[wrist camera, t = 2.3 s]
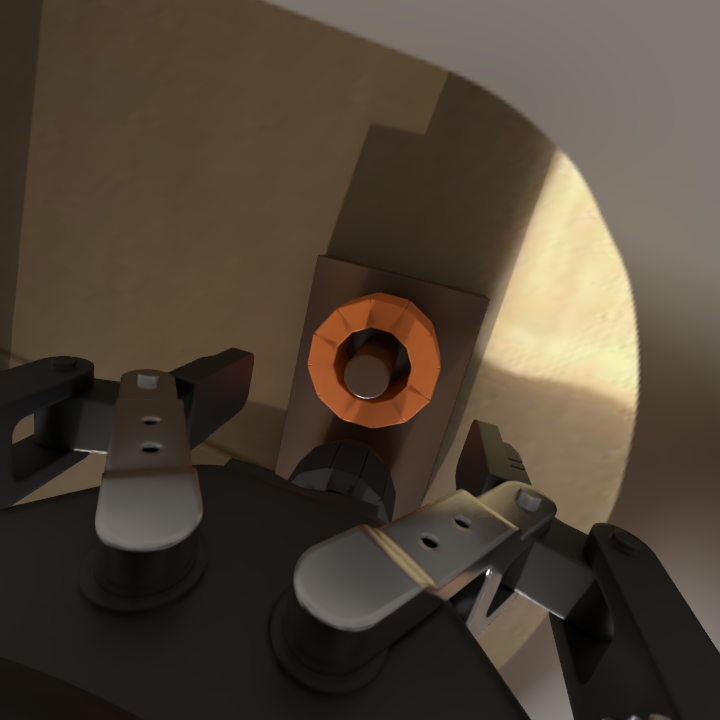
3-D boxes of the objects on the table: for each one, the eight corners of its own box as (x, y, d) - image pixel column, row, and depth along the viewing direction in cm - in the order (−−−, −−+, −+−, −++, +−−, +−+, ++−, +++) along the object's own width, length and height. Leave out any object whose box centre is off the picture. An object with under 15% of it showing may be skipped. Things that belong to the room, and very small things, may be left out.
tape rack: (278, 485, 29) (221, 571, 22) (325, 254, 24) (273, 256, 17) (409, 528, 28) (399, 634, 21) (486, 296, 23) (513, 318, 16)
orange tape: (314, 387, 23) (298, 406, 20) (338, 281, 21) (323, 285, 18) (419, 417, 22) (417, 442, 19) (453, 311, 20) (456, 321, 18)
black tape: (287, 514, 26) (269, 547, 23) (305, 429, 24) (288, 454, 21) (380, 545, 25) (373, 582, 22) (406, 460, 23) (402, 490, 20)
